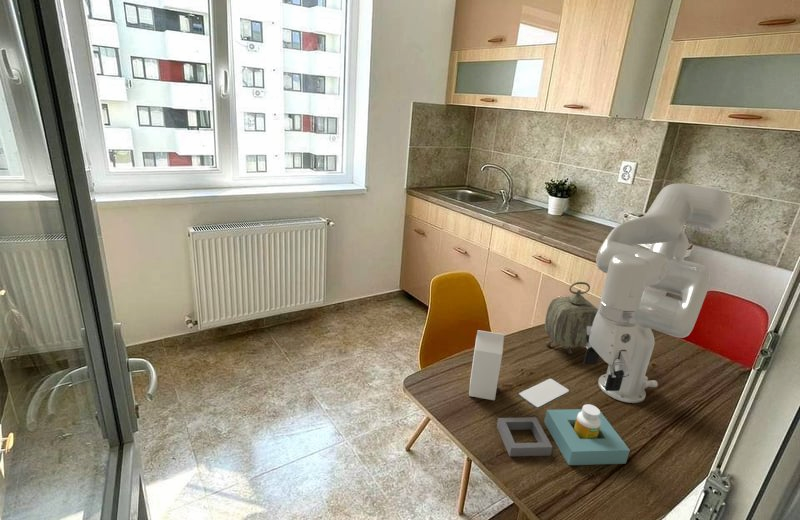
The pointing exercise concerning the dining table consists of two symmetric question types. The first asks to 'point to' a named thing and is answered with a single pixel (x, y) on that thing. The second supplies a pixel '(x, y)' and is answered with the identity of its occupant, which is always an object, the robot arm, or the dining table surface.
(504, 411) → the dining table surface
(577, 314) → the tabletop clock
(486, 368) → the milk carton
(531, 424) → the grey picture frame
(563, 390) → the smartphone
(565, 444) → the socket block
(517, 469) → the dining table surface
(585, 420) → the supplement bottle
